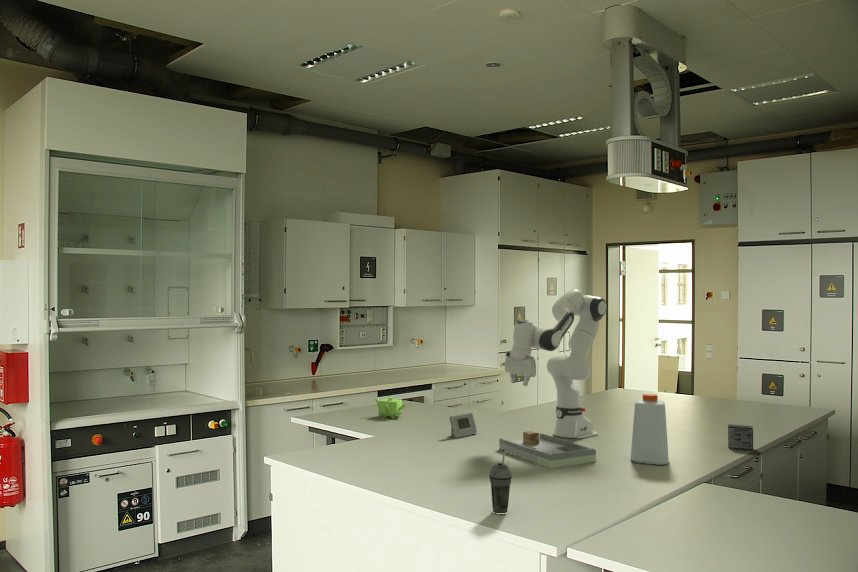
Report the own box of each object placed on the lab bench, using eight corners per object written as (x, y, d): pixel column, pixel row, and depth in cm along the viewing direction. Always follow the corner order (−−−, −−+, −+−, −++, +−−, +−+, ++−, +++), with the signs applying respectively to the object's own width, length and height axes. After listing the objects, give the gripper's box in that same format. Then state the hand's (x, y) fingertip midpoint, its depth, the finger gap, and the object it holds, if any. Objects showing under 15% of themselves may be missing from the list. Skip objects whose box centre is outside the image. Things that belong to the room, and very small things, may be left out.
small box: (753, 448, 307) (753, 425, 307) (753, 451, 301) (753, 428, 301) (728, 445, 311) (728, 423, 311) (727, 448, 305) (728, 425, 305)
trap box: (541, 444, 309) (541, 432, 309) (595, 461, 278) (595, 448, 278) (499, 449, 298) (499, 437, 298) (551, 468, 266) (551, 454, 266)
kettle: (372, 416, 375) (373, 396, 376) (395, 414, 382) (395, 394, 383) (384, 420, 362) (384, 400, 363) (407, 418, 369) (407, 398, 370)
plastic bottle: (668, 458, 286) (668, 393, 286) (668, 466, 271) (669, 398, 272) (631, 455, 290) (632, 391, 291) (630, 463, 276) (630, 396, 277)
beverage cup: (486, 509, 215) (487, 447, 215) (508, 508, 215) (509, 447, 215) (490, 516, 207) (491, 452, 208) (513, 516, 208) (514, 452, 208)
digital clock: (454, 439, 318) (455, 417, 318) (444, 435, 326) (444, 414, 326) (481, 435, 327) (481, 414, 327) (470, 432, 335) (470, 411, 335)
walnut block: (531, 441, 300) (532, 430, 300) (538, 444, 296) (538, 432, 296) (523, 442, 298) (523, 431, 298) (529, 445, 294) (530, 433, 294)
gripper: (540, 357, 300) (538, 387, 300) (514, 353, 318) (511, 381, 318) (529, 356, 297) (527, 387, 297) (503, 352, 315) (501, 381, 315)
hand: (519, 384), depth 307 cm, fingers open, 8 cm apart
